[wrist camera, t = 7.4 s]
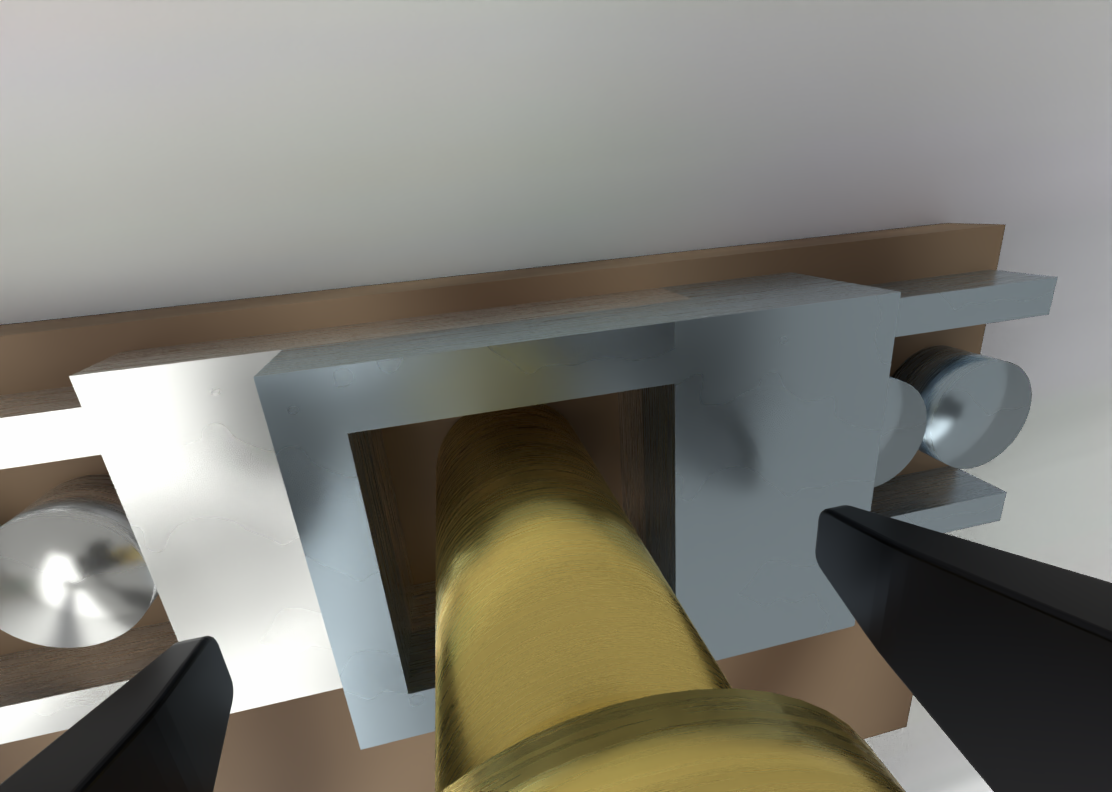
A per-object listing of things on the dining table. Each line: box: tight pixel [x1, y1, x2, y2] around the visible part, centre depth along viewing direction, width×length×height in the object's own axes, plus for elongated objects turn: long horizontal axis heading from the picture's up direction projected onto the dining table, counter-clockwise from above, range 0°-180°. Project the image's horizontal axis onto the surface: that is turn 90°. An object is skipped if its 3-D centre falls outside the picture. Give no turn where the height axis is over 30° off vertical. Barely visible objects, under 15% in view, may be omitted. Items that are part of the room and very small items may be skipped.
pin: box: [435, 404, 905, 792], centre depth 8 cm, size 5×5×9 cm
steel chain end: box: [0, 288, 691, 744], centre depth 10 cm, size 15×7×2 cm, turn 95°
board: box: [0, 223, 1005, 792], centre depth 14 cm, size 24×16×2 cm, turn 95°
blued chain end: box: [253, 270, 1057, 750], centre depth 11 cm, size 15×7×3 cm, turn 95°
